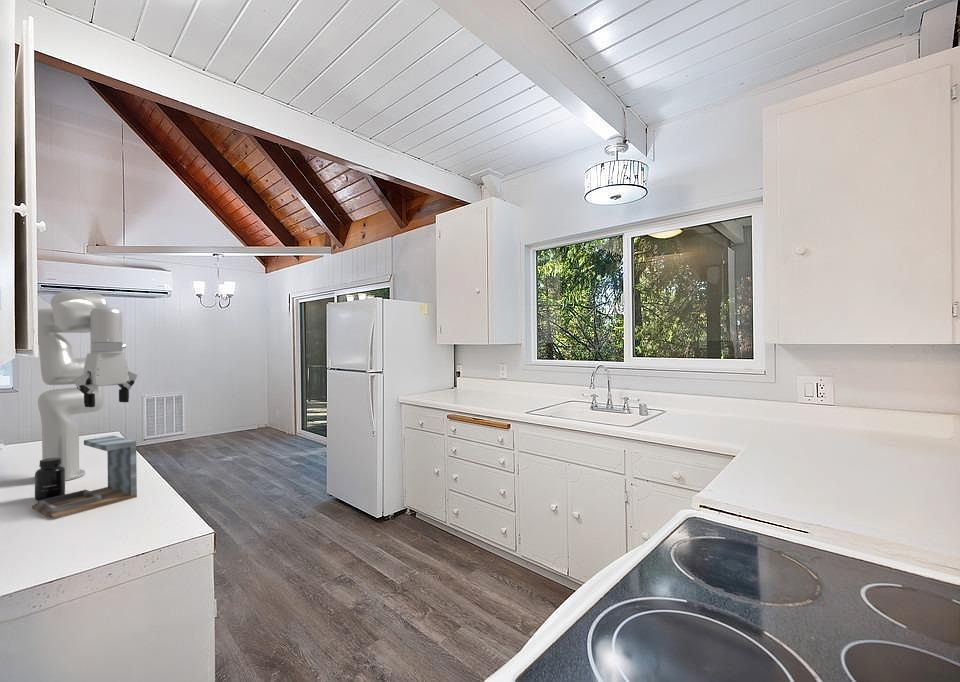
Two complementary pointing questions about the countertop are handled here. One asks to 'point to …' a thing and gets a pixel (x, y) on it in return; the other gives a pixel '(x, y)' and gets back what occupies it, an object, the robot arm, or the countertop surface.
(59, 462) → the supplement bottle
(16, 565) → the countertop surface
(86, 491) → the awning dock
